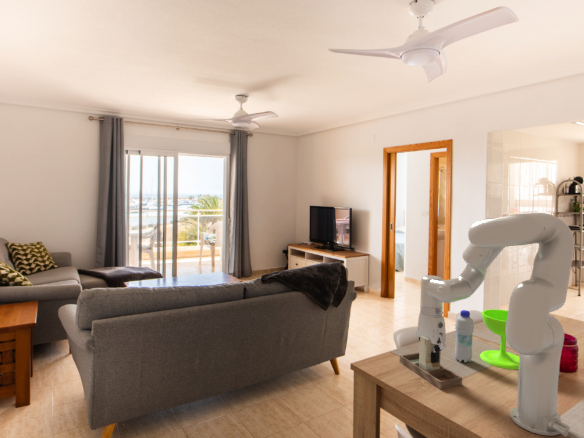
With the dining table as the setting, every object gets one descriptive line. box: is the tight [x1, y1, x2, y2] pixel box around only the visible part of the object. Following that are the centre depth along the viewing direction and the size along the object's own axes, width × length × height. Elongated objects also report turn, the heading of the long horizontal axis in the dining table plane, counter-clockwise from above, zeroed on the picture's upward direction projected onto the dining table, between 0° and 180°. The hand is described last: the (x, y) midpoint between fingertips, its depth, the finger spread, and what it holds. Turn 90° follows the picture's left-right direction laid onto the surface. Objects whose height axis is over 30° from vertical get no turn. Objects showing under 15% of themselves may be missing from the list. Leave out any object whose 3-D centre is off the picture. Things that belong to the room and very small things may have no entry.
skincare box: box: [418, 335, 442, 371], centre depth 137 cm, size 6×4×12 cm
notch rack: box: [399, 351, 463, 390], centre depth 138 cm, size 22×9×2 cm, turn 20°
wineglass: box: [479, 308, 520, 370], centre depth 149 cm, size 16×16×18 cm
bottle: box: [454, 309, 475, 364], centre depth 148 cm, size 7×7×20 cm
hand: (429, 358), depth 138 cm, fingers closed on skincare box, 4 cm apart
